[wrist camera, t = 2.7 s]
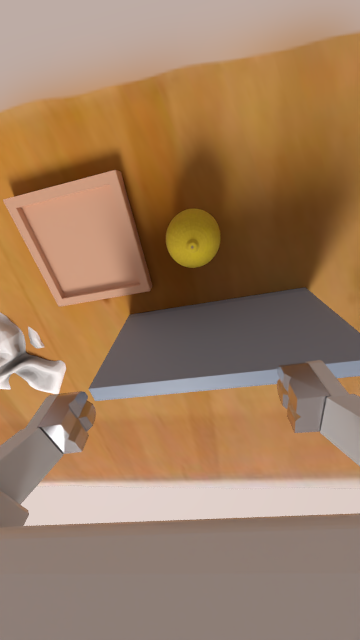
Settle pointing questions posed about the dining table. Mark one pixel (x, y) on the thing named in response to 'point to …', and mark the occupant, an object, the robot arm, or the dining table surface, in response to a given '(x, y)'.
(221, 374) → the screen
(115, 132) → the dining table surface
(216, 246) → the lemon
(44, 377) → the cloth
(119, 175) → the dish
